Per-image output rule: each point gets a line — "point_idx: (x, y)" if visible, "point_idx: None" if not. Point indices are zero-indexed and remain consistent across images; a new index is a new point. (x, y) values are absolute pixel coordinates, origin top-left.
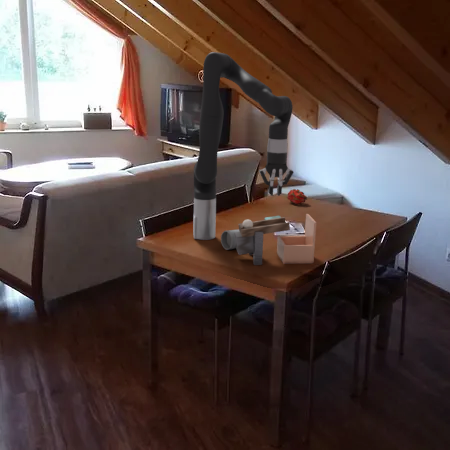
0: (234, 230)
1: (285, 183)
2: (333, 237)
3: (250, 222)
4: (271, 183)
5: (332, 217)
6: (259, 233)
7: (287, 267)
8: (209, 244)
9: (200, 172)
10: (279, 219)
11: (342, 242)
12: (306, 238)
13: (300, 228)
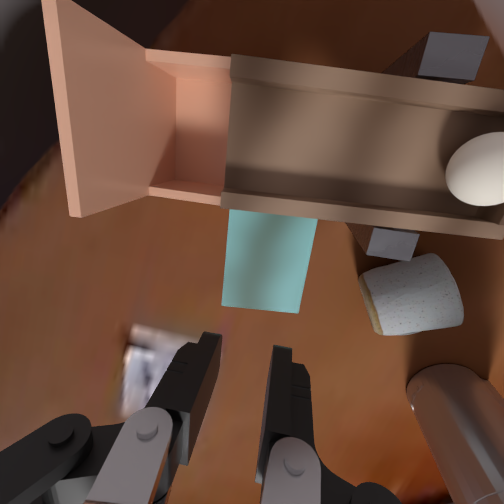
0: (419, 314)
1: (66, 429)
2: (58, 296)
3: (498, 143)
4: (296, 487)
5: (37, 427)
6: (456, 36)
7: (283, 34)
8: (462, 326)
9: None
10: (258, 194)
11: (40, 252)
12: (148, 163)
13: (133, 381)
